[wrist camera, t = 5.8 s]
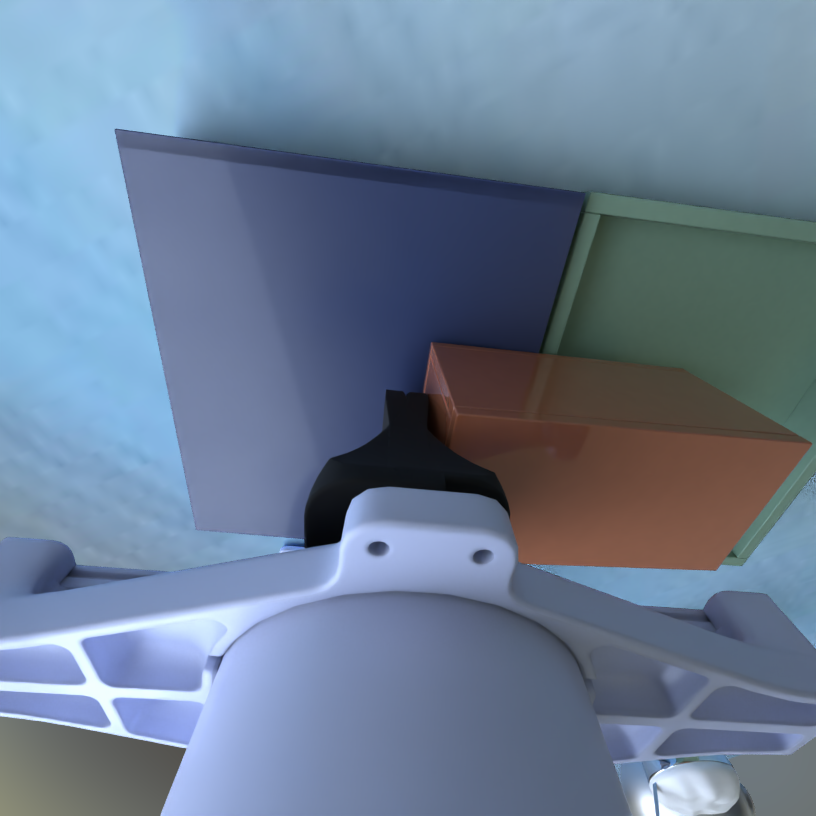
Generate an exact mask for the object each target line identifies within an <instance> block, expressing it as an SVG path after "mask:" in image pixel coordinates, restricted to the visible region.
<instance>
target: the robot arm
mask: <svg viewBox="0 0 816 816" xmlns="http://www.w3.org/2000/svg"><path fill="white" fill-rule="evenodd" d="M428 404H429V399H428V396H427V394H426V393H417V392H409V393H408V394H405V393H404V392H403V391H397V390H387V389H386V394H385V405H384V415H383V426H382V432H381V433H379V434H378V435H377V436H376V437H375V438H373V439H372V440H371V441H369V442H368V443H366V444H365V445H363V446H361V447H359V448H357V449H355V450H353V451H350V452H348V453H345V454H342V455H339V456H336V457H332V458H330V459H329V460H328V461H327V463H326V464H325V466H324V467H323V469H322V470H321V472H320V474H319V475H318V477H317V479H316V481H315V483H314V485H313V487H312V489H311V491H310V494H309V497H308V500H307V503H306V506H305V512H304V540H305V547H297V546H284V547H282V548H281V550H280V552H279V553H276V554H271V555H265V556H259V557H253V558H248V559H242V560H236V561H230V562H225V563H219V564H213V565H208V566H202V567H196V568H190V569H185V570H179V571H173V572H167V571H153V570H139V569H126V568H112V567H98V566H84V565H76V563H75V559H74V556H73V553H72V551H71V550H70V549H69V547H68V546H67V545H65V544H63V543H61V542H59V541H54V540H45V539H31V538H18V537H6V538H5V539H4V540H2V541H1V542H0V716H6V717H13V718H21V719H29V720H37V721H43V722H49V723H55V724H62V725H68V726H73V727H79V728H84V729H89V730H94V731H99V732H105V733H110V734H115V735H120V736H126V737H131V738H136V739H141V740H146V741H152V742H157V743H162V744H167V745H172V746H178V747H183V748H187V750H186V752H185V755H184V757H183V760H182V762H181V765H180V767H179V770H178V772H177V775H176V777H175V780H174V782H173V785H172V788H171V790H170V792H169V795H168V797H167V800H166V802H165V805H164V808H163V810H162V812H161V815H160V816H632V813H631V810H630V808H629V805H628V802H627V799H626V797H625V794H624V791H623V788H622V785H621V783H620V780H619V777H618V774H617V772H616V769H615V766H614V764H620V763H631V762H641V761H651V760H662V759H672V758H683V757H696V756H710V755H736V754H765V755H769V754H770V755H791V754H793V753H794V752H795V751H797V750H798V749H800V748H801V747H802V746H804V745H805V744H806V743H808V742H809V741H811V740H812V739H813V738H815V737H816V649H815V648H814V646H813V645H812V644H811V643H810V642H809V641H808V640H807V639H806V638H805V636H804V635H803V634H802V633H801V632H800V631H799V630H798V629H797V627H796V626H795V625H794V624H793V623H792V622H791V621H790V620H789V619H788V617H787V616H786V615H785V614H784V613H783V612H782V611H781V610H780V608H779V607H778V606H777V605H776V604H775V603H774V602H773V601H772V599H771V598H770V597H769V596H768V595H767V594H763V593H751V592H737V591H722V592H719V593H716V594H715V595H713V596H712V597H711V598H710V599H709V600H708V602H707V603H706V605H705V607H704V609H703V610H695V609H681V608H668V607H654V606H640V605H637V604H634V603H631V602H628V601H626V600H623V599H620V598H617V597H614V596H612V595H609V594H606V593H603V592H601V591H598V590H595V589H592V588H590V587H587V586H584V585H581V584H579V583H576V582H573V581H570V580H567V579H565V578H562V577H559V576H556V575H554V574H551V573H548V572H545V571H543V570H540V569H537V568H534V567H532V566H529V565H526V564H523V563H520V562H518V545H517V542H516V539H515V535H514V532H513V529H512V526H511V523H510V509H509V504H508V501H507V498H506V495H505V492H504V490H503V488H502V486H501V484H500V482H499V480H498V478H497V476H496V474H495V472H492V471H490V470H488V469H485V468H483V467H481V466H478V465H476V464H474V463H472V462H470V461H468V460H467V459H465V458H463V457H461V456H460V455H458V454H457V453H455V452H453V451H452V450H451V449H449V448H448V447H447V446H445V445H444V444H443V443H442V442H440V441H439V440H438V439H437V438H436V437H435V436H434V435H433V434H432V433H431V432H430V431H429V430H428V429H427V420H428Z"/></svg>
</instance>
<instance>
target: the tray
mask: <svg viewBox="0 0 816 816" xmlns="http://www.w3.org/2000/svg"><path fill="white" fill-rule="evenodd" d="M583 193H586V195H585V198H584V201H583V205H582V208H581V212H580V215H579V218H578V222H577V225H576V229H575V232H574V235H573V239H572V242H571V246H570V249H569V252H568V256H567V259H566V262H565V266H564V269H563V273H562V276H561V279H560V283H559V286H558V290H557V293H556V296H555V300H554V303H553V307H552V310H551V313H550V317H549V320H548V324H547V327H546V330H545V334H544V337H543V340H542V344H541V347H540V351H539V353H541V354H551V355H560V356H570V357H579V358H589V359H598V360H608V361H617V362H627V363H636V364H645V365H655V366H664V367H674V368H683V369H684V370H686V371H688V372H689V373H691V374H693V375H695V376H697V377H698V378H700V379H702V380H704V381H705V382H707V383H709V384H711V385H712V386H714V387H716V388H717V389H719V390H721V391H723V392H724V393H726V394H728V395H730V396H731V397H733V398H735V399H737V400H738V401H740V402H742V403H744V404H745V405H747V406H749V407H751V408H752V409H754V410H756V411H758V412H759V413H761V414H763V415H764V416H766V417H768V418H770V419H771V420H773V421H775V422H777V423H778V424H780V425H782V426H784V427H785V428H787V429H789V430H791V431H792V432H794V433H796V434H798V435H799V436H801V437H803V438H805V439H806V440H808V441H810V442H811V443H813V444H812V446H811V447H810V449H809V450H808V451H807V452H806V454H805V455H804V456H803V458H802V459H801V460H800V462H799V463H798V464H797V466H796V467H795V468H794V469H793V471H792V472H791V473H790V475H789V476H788V477H787V479H786V480H785V481H784V483H783V484H782V485H781V486H780V488H779V489H778V490H777V492H776V493H775V494H774V496H773V497H772V498H771V500H770V501H769V502H768V503H767V505H766V506H765V507H764V509H763V510H762V511H761V513H760V514H759V515H758V517H757V518H756V519H755V521H754V522H753V523H752V524H751V526H750V527H749V528H748V530H747V531H746V532H745V534H744V535H743V536H742V538H741V539H740V540H739V541H738V543H737V544H736V545H735V547H734V548H733V549H732V551H731V552H730V553H729V555H728V556H727V557H726V558H725V560H724V561H723V562H722V565H734V566H742V565H743V564H744V563H745V562H746V560H747V558H749V556H750V555H751V554H752V552H753V551H754V550H755V549H756V547H757V546H758V545H759V544H760V542H761V541H762V540H763V538H764V537H765V536H766V535H767V533H768V532H769V531H770V529H771V528H772V527H773V526H774V524H775V523H776V522H777V520H778V519H779V518H780V517H781V515H782V514H783V513H784V512H785V510H786V509H787V508H788V506H789V505H790V504H791V503H792V501H793V500H794V499H795V497H796V496H797V495H798V494H799V492H800V491H801V490H802V488H803V487H804V486H805V485H806V483H807V482H808V481H809V480H810V478H811V477H812V476H813V474H814V473H815V472H816V222H811V221H804V220H797V219H790V218H782V217H775V216H768V215H760V214H753V213H746V212H738V211H731V210H724V209H716V208H709V207H702V206H694V205H687V204H680V203H673V202H665V201H658V200H651V199H643V198H636V197H629V196H621V195H614V194H607V193H599V192H592V191H590V192H583Z"/></svg>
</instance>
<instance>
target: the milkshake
mask: <svg viewBox="0 0 816 816" xmlns="http://www.w3.org/2000/svg"><path fill="white" fill-rule="evenodd" d="M641 763H642V766H643V769H644V772H645V775H646V778H647V781H648V784H649V787H650V790H651V792H652V794H653V795H654V804H655V814H656V816H660V811H659V802H660V803H662V804H663V805H664V806H666V807H667V808H669V809H671V810H674V811H676V812H679V813H681V814H683V815H686V816H696V815H700V814H720V813H725V812H727V811H728V810H729V809H730V808H731V807H732V806H733V805H734V804H735V803H736V802H737V800H738V799H739V795H740V779H739V776H738V774H737V772H736V771H735V769H734V768H733V766H732V764H731V763H730V761H729V760H728V758H727V757H726V755H710V756H696V757H683V758H672V759H662V760H651V761H641ZM658 801H659V802H658Z"/></svg>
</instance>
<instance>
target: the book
mask: <svg viewBox="0 0 816 816" xmlns="http://www.w3.org/2000/svg"><path fill="white" fill-rule="evenodd" d="M115 134H116V139H117V144H118V149H119V154H120V158H121V163H122V168H123V173H124V178H125V183H126V188H127V193H128V198H129V203H130V208H131V212H132V217H133V222H134V227H135V232H136V237H137V242H138V247H139V252H140V257H141V262H142V266H143V271H144V276H145V281H146V286H147V291H148V296H149V301H150V306H151V311H152V316H153V321H154V325H155V330H156V335H157V340H158V345H159V350H160V355H161V360H162V365H163V370H164V375H165V379H166V384H167V389H168V394H169V399H170V404H171V409H172V414H173V419H174V424H175V429H176V433H177V438H178V443H179V448H180V453H181V458H182V463H183V468H184V473H185V478H186V483H187V487H188V492H189V497H190V502H191V507H192V512H193V517H194V522H195V527H196V530H201V531H213V532H226V533H238V534H250V535H262V536H274V537H286V538H298V539H304V512H305V506H306V503H307V500H308V497H309V494H310V491H311V489H312V487H313V485H314V483H315V481H316V479H317V477H318V475H319V474H320V472H321V470H322V469H323V467H324V466H325V464H326V463H327V461H328V460H329V459H330V458H332V457H336V456H339V455H342V454H345V453H348V452H350V451H353V450H355V449H357V448H359V447H361V446H363V445H365V444H366V443H368V442H369V441H371V440H372V439H373V438H375V437H376V436H377V435H378V434H379V433H381V432H382V426H383V415H384V405H385V394H386V389H387V390H397V391H403V392H404V393H405V394H408V393H409V392H417V393H423V387H424V381H425V375H426V370H427V364H428V358H429V352H430V346H431V342H437V343H446V344H456V345H465V346H475V347H484V348H494V349H503V350H513V351H522V352H532V353H539V351H540V347H541V344H542V340H543V337H544V334H545V330H546V327H547V324H548V320H549V317H550V313H551V310H552V307H553V303H554V300H555V296H556V293H557V290H558V286H559V283H560V279H561V276H562V273H563V269H564V266H565V262H566V259H567V256H568V252H569V249H570V246H571V242H572V239H573V235H574V232H575V229H576V225H577V222H578V218H579V215H580V212H581V208H582V205H583V201H584V198H585V195H586V193H583V192H576V191H569V190H561V189H554V188H547V187H539V186H532V185H525V184H517V183H510V182H503V181H495V180H488V179H481V178H473V177H466V176H459V175H451V174H444V173H437V172H429V171H422V170H415V169H407V168H400V167H393V166H385V165H378V164H371V163H363V162H356V161H349V160H341V159H334V158H327V157H319V156H312V155H305V154H297V153H290V152H283V151H275V150H268V149H261V148H253V147H246V146H239V145H231V144H224V143H217V142H209V141H202V140H195V139H187V138H180V137H173V136H165V135H158V134H151V133H143V132H136V131H129V130H122V129H115Z"/></svg>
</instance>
